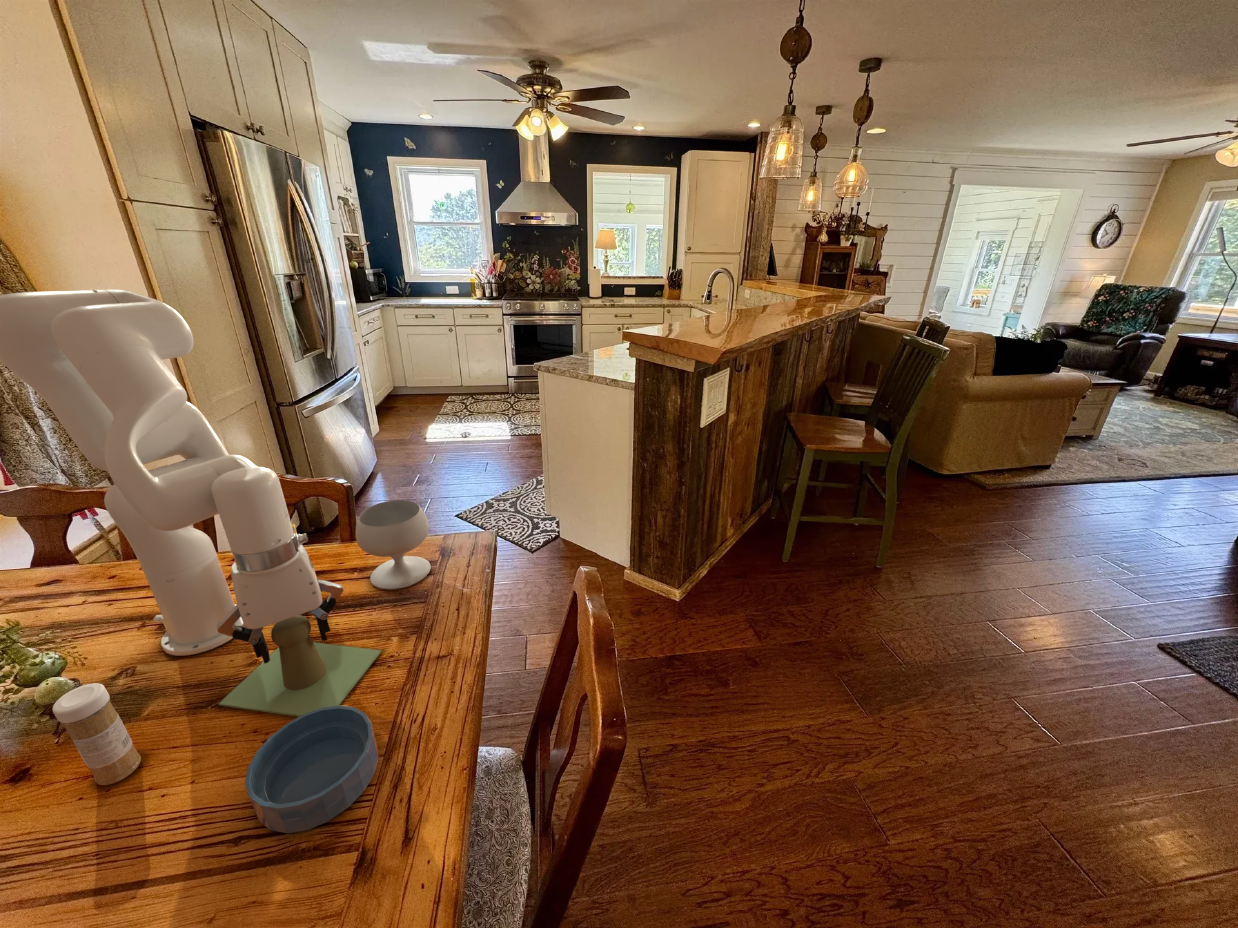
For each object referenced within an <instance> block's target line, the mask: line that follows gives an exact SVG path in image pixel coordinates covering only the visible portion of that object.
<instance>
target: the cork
mask: <svg viewBox="0 0 1238 928" xmlns="http://www.w3.org/2000/svg"><path fill="white" fill-rule="evenodd" d="M311 631H312V624H311V621H310V620H309V618H308V617H306V616H304V615H303V614H300V615H297V616H294V617H291V618H288V619H285V620H283V621H280V622H277V623H274V624H273V627H272V629H271V632H270V638H271V640H272V642H273V643H274V644H275V645H276V646H277V647H279V651H280V659H281V668H282V676H283V684H284V686H285V688H286V689H289V690H301V689H305V688H307V687H310V686H312V685H313V684H315V683H317V682H318V681H319V680H320V679H321V678H322V677H323V676H324V674H325V672H326V666H325V664H324V662H323V660H322V658H321V656H320V654H319V652H318V650H317V648H316V646H315V644H314V641H313V638H312V637H311V635H310V634H311Z"/></svg>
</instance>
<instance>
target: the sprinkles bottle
mask: <svg viewBox="0 0 1238 928" xmlns="http://www.w3.org/2000/svg"><path fill="white" fill-rule="evenodd" d="M51 710H52V713H53V714H54V716H55V718H56V720H57V721H58V722H59V723H61V724H62V725H63V727H64V729H65V731H67V734H68V736H69V738H70V739H71V741H72V743H73V744H74V746H75V748H76V751H77V752H78V754H79V756H80V757H81V759H82V761H83V762H84V764H85V765H86V767H87V768H88V769H89V771H90V772H91V774H92V776H93V777H94V782H95V783H96V784H97V785H100V786H108V785H112V784H115V783H118V782H120V781H122V780H124V779H126V778H127V777H129V776H130V775H131V774H132V773H134V771H136V770H137V769H138V767H139V765H140V764H141V761H142V756H141V754H140V753H139V752H138V750H137V749H136V746H135V745H134V743H133V739H132V738H131V736H130V733H129V732H128V730H127V728H126V726H125V725H124V723H123V721H122V718H121V717H120V715H119V714H118V712H117V711H116V709H115V707H114V706H113V704H112V702H111V698H110V694H109V692H108V691H107V688H106V687H105V685H104V684H102V683H99V682H94V683H87V684H83V685H80V686H78V687H76V688H73V689H71V690H70V691H67V692H66V693H64V694H63V695H62V696H61V697H59V698H58V699H57V700H56V701H55V703H53V705H52V709H51Z"/></svg>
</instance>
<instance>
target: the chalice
mask: <svg viewBox="0 0 1238 928" xmlns="http://www.w3.org/2000/svg"><path fill="white" fill-rule="evenodd" d="M429 525H430V524H429V520H428V517H427V515H426V513H425V511H424V510H423V509H422V507H421V506H420V505H419V504H418V503H417V502H414V501H411V500H405V499H397V500H396V499H395V500H394V499H393V500H388V501H383V502H379V503H375V504H374V505H372V506H369V507H367V508H366V509H364V510H363V511H361V513H360V515H359V516H358V518H357V521H356V525H355V540H356V544H357V545H358V547H359V548H360V549H361V550H362V552H365V553H367V554H368V555H371V556H375V557H379V558H380V557H381V558H389V557H390V558H391V559H389V560H386V561H385V562H382V563H381V564H380V565H378V566H377V567H376V568H375V569H373V571H372V572H371V574H370V578H369V580H370V583H371V584H372V586H374V587H376V588H378V589H382V590H398V589H404V588H408V587H410V586H412V585H414V584H417V583H418V582H421V581H422V580H424V579H425V578H426V577H427V575H428V574H429V573H430V571H431V567H432V566H431V563H430V561H429V560H428V559H426V558H424V557H422V556H417V555H405V554H407V553H409V552H411V551H414V550H415V549H416V548H418V547H419V546H420V545H422V543H423V542H424V541H425V540H426V539H427V538H428V535H429V531H430V526H429Z"/></svg>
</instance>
